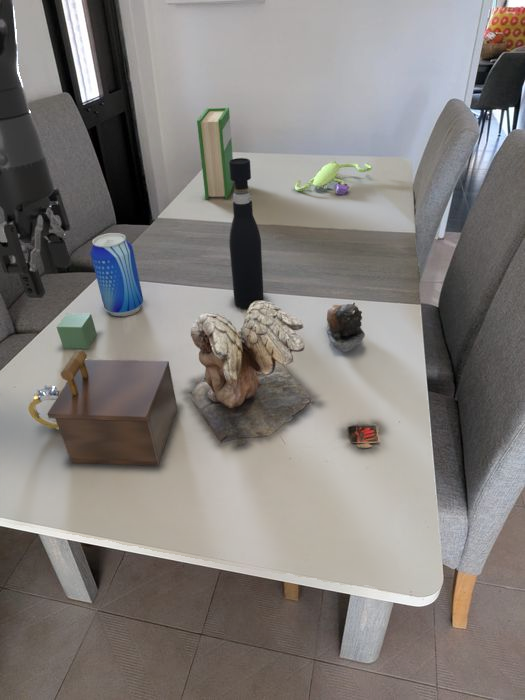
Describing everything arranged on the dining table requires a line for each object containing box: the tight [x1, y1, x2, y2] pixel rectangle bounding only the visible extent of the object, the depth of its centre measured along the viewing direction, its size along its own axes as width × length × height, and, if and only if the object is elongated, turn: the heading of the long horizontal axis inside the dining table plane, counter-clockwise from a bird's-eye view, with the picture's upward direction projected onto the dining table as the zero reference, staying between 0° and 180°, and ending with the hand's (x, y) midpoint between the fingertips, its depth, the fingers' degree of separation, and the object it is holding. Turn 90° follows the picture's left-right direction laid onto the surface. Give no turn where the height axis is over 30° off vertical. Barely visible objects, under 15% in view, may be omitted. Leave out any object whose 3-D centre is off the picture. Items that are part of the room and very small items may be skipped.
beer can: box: [90, 232, 144, 317], centre depth 108 cm, size 8×8×16 cm
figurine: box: [294, 160, 373, 195], centre depth 173 cm, size 18×27×6 cm
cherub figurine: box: [186, 300, 315, 448], centre depth 81 cm, size 18×18×18 cm
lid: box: [46, 349, 170, 421], centre depth 74 cm, size 14×13×5 cm
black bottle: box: [228, 157, 265, 310], centre depth 104 cm, size 6×6×30 cm
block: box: [56, 312, 98, 350], centre depth 101 cm, size 5×5×5 cm
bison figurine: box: [326, 302, 366, 352], centre depth 96 cm, size 12×7×10 cm, turn 3°
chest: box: [55, 365, 178, 467], centre depth 78 cm, size 13×13×9 cm
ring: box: [27, 384, 62, 431], centre depth 80 cm, size 7×3×8 cm, turn 86°
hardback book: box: [196, 107, 235, 200], centre depth 168 cm, size 18×7×24 cm, turn 176°
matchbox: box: [346, 423, 380, 449], centre depth 78 cm, size 5×5×1 cm
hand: (50, 280), depth 70 cm, fingers open, 8 cm apart
